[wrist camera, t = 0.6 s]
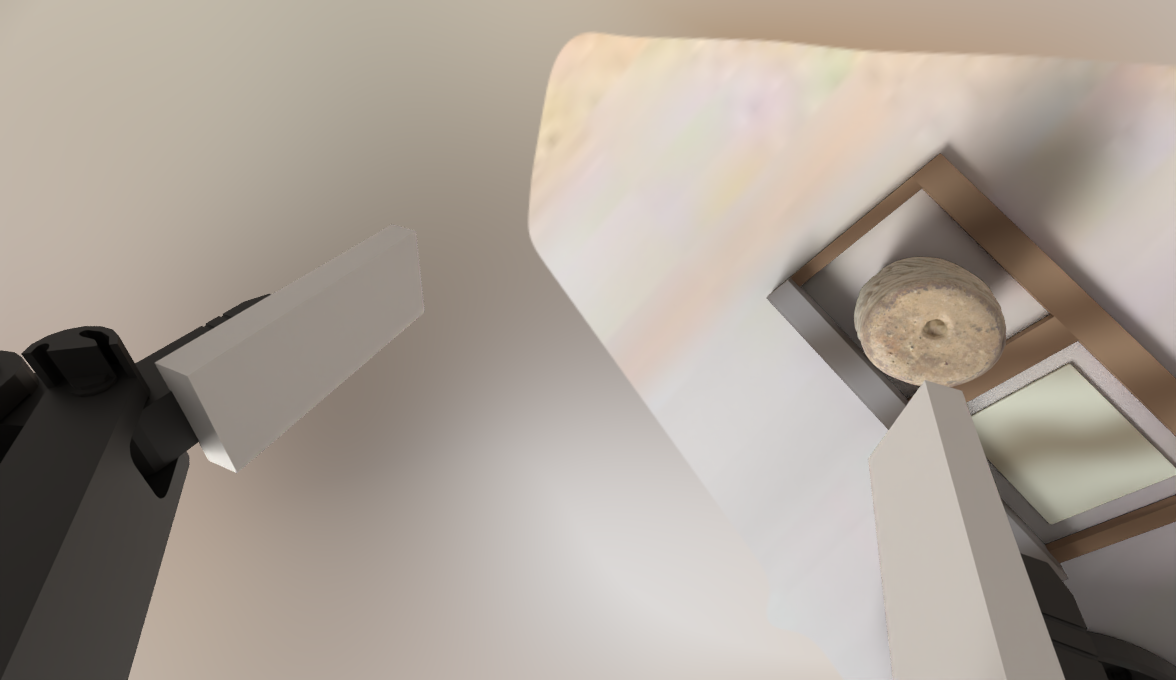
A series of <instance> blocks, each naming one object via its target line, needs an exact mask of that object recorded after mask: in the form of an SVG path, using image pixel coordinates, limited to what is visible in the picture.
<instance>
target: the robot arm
mask: <svg viewBox="0 0 1176 680" xmlns="http://www.w3.org/2000/svg"><path fill="white" fill-rule="evenodd" d="M424 312H425V311H424V301H423V292H422V283H421V273H420V263H419V254H418V245H417V235H416V231H415V230H411V229H408V228H405V227H401V226H398V225H395V224H391V225H390V226H388V227H386V228H384V229H383V230H381V231H379V232H378V233H376V234H374V235H372V236H371V237H369V238H367V239H366V240H364V241H362V242H360V243H359V244H357V245H355V246H354V247H352V248H350V249H349V250H347V251H345V252H343V253H342V254H340V255H338V256H336V257H335V258H333V259H331V260H330V261H328V262H326V263H324V264H323V265H321V266H319V267H318V268H316V269H314V270H313V271H311V272H309V273H307V274H306V275H304V276H302V277H301V278H299V279H297V280H295V281H294V282H292V283H290V284H289V285H287V286H285V287H284V288H282V289H280V290H278V291H277V292H275V293H273V294H267V295H264V296H261V297H258V298H254V299H251V300H248V301H245V302H243V303H241V304H239V305H238V306H236V307H234V308H232V309H231V310H229V311H227V312H225V313H224V314H223V316H222V317H220V316H218V317H217V318H215V319H213V320H211V321H209V322H208V323H206V326H205V327H203V326H201V327H199V328H197V329H195V330H194V331H192V332H190V333H188V334H187V335H185V336H183V337H181V338H180V339H178V340H176V341H174V342H172V343H171V344H169V345H167V346H165V347H164V348H162V349H160V350H158V351H157V352H155V353H153V354H151V355H150V356H148V357H146V358H144V359H143V360H141V361H139V362H137V363H134V361H133V360H132V358H131V356H130V355H129V353H128V351H127V349H126V348H125V346H124V344H123V342H122V341H121V339H120V337H119V336H118V335H117V334H116V333H115V332H114V331H113V330H112V329H109V328H105V327H101V326H84V327H78V328H72V329H67V330H63V331H60V332H57V333H54V334H51V335H49V336H47V337H44V338H43V339H41V340H39V341H37V342H35V343H33V344H31V345H30V346H29V347H28V348H27V349H26V350H25V351H24V352H23V353H22V355H23V357H24V358H25V359H26V361H27V362H28V363H29V365H30V366H31V367H32V369H33V370H34V371H35V373H33V371H32V370H31V369H30V367H29V366H28V365H27V364H26V362H25V361H24V360H23V358H22V357H20V356H19V355H17V354H16V353H15V352H8V351H0V680H128V677H129V673H130V670H131V667H132V663H133V659H134V656H135V653H136V649H137V645H138V642H139V638H140V635H141V631H142V628H143V624H144V621H145V617H146V614H147V611H148V607H149V604H150V600H151V597H152V593H153V590H154V586H155V583H156V579H157V576H158V572H159V569H160V565H161V562H162V558H163V555H164V551H165V547H166V544H167V541H168V537H169V534H170V530H171V527H172V523H173V520H174V517H175V513H176V509H177V506H178V503H179V499H180V495H181V492H182V488H183V484H184V481H185V478H186V474H187V471H188V468H189V455H188V453H187V452H186V451H187V450H188V449H190V448H191V447H192V446H194V445H195V444H196V443H198V442H199V443H200V446H201V447H202V449H203V451H204V453H205V455H206V456H207V458H208V460H209V461H211V462H213V463H216V464H218V465H220V466H222V467H225V468H227V469H229V470H231V471H233V472H236V473H238V472H239V471H240V470H241V469H243V468H244V467H245V466H246V465H247V464H248V463H250V462H251V461H252V460H253V459H254V458H255V457H256V456H258V455H259V454H260V453H261V452H262V451H264V450H265V449H266V448H267V447H268V446H269V445H271V444H272V443H273V442H274V441H275V440H276V439H277V438H279V437H280V436H281V435H282V434H283V433H284V432H286V431H287V430H288V429H289V428H290V427H291V426H293V425H294V424H295V423H296V422H297V421H298V420H299V419H301V418H302V417H303V416H304V415H305V414H307V413H308V412H309V411H310V410H311V409H312V408H314V407H315V406H316V405H317V404H318V403H319V402H320V401H322V400H323V399H324V398H325V397H326V396H328V395H329V394H330V393H331V392H332V391H333V390H335V389H336V388H337V387H338V386H339V385H340V384H341V383H343V382H344V381H345V380H346V379H347V378H349V376H351V375H352V374H353V373H354V372H356V371H357V370H358V369H359V368H360V367H361V366H363V365H364V364H365V363H366V362H367V361H368V360H369V359H371V358H372V357H373V356H374V355H375V354H376V353H378V352H379V351H380V350H381V349H382V348H383V347H384V346H386V345H387V344H388V343H389V342H390V341H392V340H393V339H394V338H395V337H396V336H397V335H399V334H400V333H401V332H402V331H403V330H404V329H406V328H407V327H408V326H409V325H410V324H411V323H413V322H414V321H415V320H416V319H417V318H418V317H420V316H421V315H422V314H423V313H424ZM868 462H869V470H870V479H871V488H872V497H873V506H874V515H875V524H876V533H877V542H878V551H879V560H880V569H881V578H882V587H883V596H884V605H885V614H886V623H887V632H888V641H889V650H890V659H891V668H892V677H893V680H1176V667H1175V666H1173V665H1172V664H1170V663H1169V662H1167V661H1165V660H1164V659H1162V658H1160V657H1158V656H1156V655H1154V654H1152V653H1150V652H1148V651H1146V650H1144V649H1142V648H1139V647H1137V646H1135V645H1132V644H1130V643H1127V642H1124V641H1121V640H1118V639H1115V638H1112V637H1108V636H1105V635H1101V634H1096V633H1092V632H1087V631H1086V629H1087V627H1086V625H1085V623H1084V620H1083V618H1082V615H1081V613H1080V611H1079V608H1078V606H1077V604H1076V601H1075V599H1074V596H1073V595H1072V593H1071V592H1070V591H1069V589H1068V588H1067V587H1066V586H1065V584H1064V583H1063V582H1062V580H1061V579H1060V578H1059V576H1058V575H1057V574H1056V573H1055V571H1054V570H1053V569H1052V567H1051V566H1050V565H1049V563H1047V562H1045V561H1042V560H1039V559H1036V558H1033V557H1030V556H1027V555H1024V554H1021V553H1020V552H1019V549H1018V546H1017V543H1016V540H1015V537H1014V535H1013V532H1012V529H1011V526H1010V523H1009V521H1008V518H1007V515H1006V512H1005V509H1004V507H1003V504H1002V501H1001V498H1000V495H999V493H998V490H997V487H996V484H995V481H994V479H993V476H992V473H991V470H990V467H989V465H988V462H987V459H986V456H985V453H984V451H983V448H982V445H981V442H980V439H979V437H978V434H977V431H976V428H975V425H974V423H973V420H972V417H971V414H970V411H969V409H968V406H967V403H966V400H965V397H964V395H963V392H962V391H961V390H957V389H954V388H950V387H947V386H944V385H940V384H937V383H933V382H930V381H927V380H924V382H923V383H922V385H921V386H920V387H919V389H918V390H917V392H916V393H915V394H914V396H913V397H912V398H911V400H910V401H909V403H908V404H907V405H906V407H905V408H904V410H903V411H902V412H901V414H900V415H899V417H898V418H897V419H896V421H895V422H894V424H893V425H892V426H891V428H890V429H889V430H888V432H887V433H886V435H885V436H884V437H883V439H882V440H881V442H880V443H879V444H878V446H877V447H876V449H875V450H874V451H873V453H872V454H871V456H870V457H869V458H868Z"/></svg>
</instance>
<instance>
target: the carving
mask: <svg viewBox="0 0 1176 680" xmlns="http://www.w3.org/2000/svg"><path fill="white" fill-rule="evenodd" d="M854 324H855V329H856V331H857V335H858V338H859V340H860V341H861V345H862V347H863V349H864V352H865V354H866V355H867V357H868V358H869V360H870V361H871V362H872V363H873V364H874V365H875V366H876V367H877V368H879V369H880V370H881V371H883V372H884V373H886V374H888V375H889V376H892V377H894V378H896V379H899V380H901V381H904V382H907V383H910V384H914V385H918V386H921V385H922V383H923V382H924V380H927V381H930V382H933V383H937V384H940V385H944V386H947V387H953V386H957V385H960V384H963V383H966V382H968V381H971V380H973V379H975V378H977V377H979V376H981V375H983V374H984V373H985V372H987V371H988V370H989V369H991V368H992V367H993V366H994V365H995V363H996V362H997V361H998V360H999V358H1000V357H1001V355H1002V352H1003V350H1004V347H1005V345H1006V326H1005V320H1004V316H1003V314H1002V311H1001V307H1000V305H999V303H998V302H997V300H996V298H995V297H994V296H993V293H992V292H991V290H990V289H989V287H988V286H987V285H986V284H985V283H984V282H983V281H981V280H980V279H979V278H978V277H977V276H975V275H974V274H972V273H970V272H969V271H967V270H965V269H964V268H962V267H960V266H958V265H956V264H954V263H951V262H949V261H946V260H943V259H940V258H933V257H911V258H906V259H902V260H898V261H895V262H893V263H892V264H890V265H888V266H886V267H884V268H883V269H882V270H881V271H879V273H878V274H877V275H875V276H873V277H872V278H871V279H870V280H869V281H868V282H867V283H866V284H865V285H864V286H863V287H862V289H861V290H860V293H859V297H858V299H857V302H856V306H855V311H854Z"/></svg>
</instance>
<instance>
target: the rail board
mask: <svg viewBox="0 0 1176 680" xmlns="http://www.w3.org/2000/svg"><path fill="white" fill-rule="evenodd" d="M920 189H923V190H924V191H925V192H926V193H927V194H928V195H929V196H930V197H931V198H932V199H933V200H934V201H935V202H936V203H937V204H938V205H939V206H940V207H941V208H942V209H943V210H944V211H945V212H947V213H948V214H949V215H950V216H951V217H952V218H953V219H954V220H955V221H956V222H957V223H958V224H959V225H960V226H961V227H962V228H963V229H964V230H965V231H966V232H967V233H968V234H969V235H970V236H971V237H972V238H973V239H974V240H975V241H976V242H977V243H978V244H979V245H980V246H981V247H982V248H983V249H984V250H985V251H986V252H987V253H988V254H990V255H991V256H992V257H993V258H994V259H995V260H996V261H997V262H998V263H999V264H1000V265H1001V266H1002V267H1003V268H1004V269H1005V270H1006V271H1007V272H1008V273H1009V274H1010V275H1011V276H1012V277H1013V278H1014V279H1015V280H1016V281H1017V282H1018V283H1019V284H1020V285H1021V286H1022V287H1023V288H1024V289H1025V290H1026V291H1027V292H1028V293H1029V294H1030V295H1031V296H1033V297H1034V298H1035V299H1036V300H1037V301H1038V302H1039V303H1040V304H1041V305H1042V306H1043V307H1044V308H1045V309H1046V310H1047V311H1048V312H1049V313H1050V315H1048V316H1047V317H1045V318H1043V319H1041V320H1040V321H1038V322H1036V323H1035V324H1033V325H1031V326H1030V327H1028V328H1026V329H1025V330H1023V331H1021V332H1020V333H1018V334H1016V335H1015V336H1013V337H1011V338H1009V339H1008V340H1006V345H1005V347H1004V350H1003V352H1002V355H1001V357H1000V358H999V360H998V361H997V362H996V363H995V365H994V366H993V367H992V368H991V369H989V370H988V371H987V372H985V373H984V374H983V375H981V376H979V377H977V378H975V379H973V380H971V381H968V382H966V383H963V384H960V385H957V386H953V387H950V388H954V389H957V390H961V391H962V392H963V395H964V397H965V400H966V403H967V402H968V401H970V400H972V399H974V398H976V397H977V396H979V395H981V394H983V393H985V392H986V391H988V390H990V389H992V388H994V387H995V386H997V385H999V384H1001V383H1003V382H1005V381H1006V380H1008V379H1010V378H1012V377H1014V376H1015V375H1017V374H1019V373H1021V372H1023V371H1024V370H1026V369H1028V368H1030V367H1032V366H1033V365H1035V364H1037V363H1039V362H1041V361H1042V360H1044V359H1046V358H1048V357H1050V356H1051V355H1053V354H1055V353H1057V352H1059V351H1060V350H1062V349H1064V348H1066V347H1068V346H1069V345H1071V344H1073V343H1075V342H1077V341H1079V342H1080V343H1081V344H1082V345H1083V346H1084V347H1085V348H1086V349H1087V350H1088V351H1089V352H1090V353H1091V354H1092V355H1093V356H1094V357H1095V358H1096V359H1097V360H1098V361H1099V362H1100V363H1101V364H1102V365H1103V366H1104V367H1105V368H1106V369H1107V370H1108V371H1109V372H1110V373H1111V374H1112V375H1113V376H1114V377H1115V378H1116V379H1118V380H1119V381H1120V382H1121V383H1122V384H1123V385H1124V386H1125V387H1126V388H1127V389H1128V390H1129V391H1130V392H1131V393H1132V394H1133V395H1134V396H1135V397H1136V398H1137V399H1138V400H1139V401H1140V402H1141V403H1142V404H1143V405H1144V406H1145V407H1146V408H1147V409H1148V410H1149V411H1150V412H1151V413H1152V414H1153V415H1154V416H1155V417H1156V418H1157V419H1158V420H1159V421H1161V422H1162V423H1163V424H1164V425H1165V426H1166V427H1167V428H1168V429H1169V430H1170V431H1171V432H1172V433H1173V434H1174V435H1175V436H1176V378H1175V377H1174V376H1173V375H1172V374H1171V373H1170V372H1169V371H1167V370H1166V369H1165V368H1164V367H1163V366H1162V365H1161V364H1160V363H1159V362H1158V361H1157V360H1156V359H1155V358H1154V357H1153V356H1152V355H1151V354H1150V353H1149V352H1148V351H1147V350H1146V349H1144V348H1143V347H1142V346H1141V345H1140V344H1139V343H1138V342H1137V341H1136V340H1135V339H1134V338H1133V337H1132V336H1131V335H1130V334H1129V333H1128V332H1127V331H1126V330H1125V329H1124V328H1123V327H1121V326H1120V325H1119V324H1118V323H1117V322H1116V321H1115V320H1114V319H1113V318H1112V317H1111V316H1110V315H1109V314H1108V313H1107V312H1106V311H1105V310H1104V309H1103V308H1102V307H1101V306H1100V305H1098V304H1097V303H1096V302H1095V301H1094V300H1093V299H1092V298H1091V297H1090V296H1089V295H1088V294H1087V293H1086V292H1085V291H1084V290H1083V289H1082V288H1081V287H1080V286H1079V285H1078V284H1077V283H1076V282H1074V281H1073V280H1072V279H1071V278H1070V277H1069V276H1068V275H1067V274H1066V273H1065V272H1064V271H1063V270H1062V269H1061V268H1060V267H1059V266H1058V265H1057V264H1056V263H1055V262H1054V261H1053V260H1051V259H1050V258H1049V257H1048V256H1047V255H1046V254H1045V253H1044V252H1043V251H1042V250H1041V249H1040V248H1039V247H1038V246H1037V245H1036V244H1035V243H1034V242H1033V241H1032V240H1031V239H1030V238H1028V237H1027V236H1026V235H1025V234H1024V233H1023V232H1022V231H1021V230H1020V229H1019V228H1018V227H1017V226H1016V225H1015V224H1014V223H1013V222H1012V221H1011V220H1010V219H1009V218H1008V217H1007V216H1005V215H1004V214H1003V213H1002V212H1001V211H1000V210H999V209H998V208H997V207H996V206H995V205H994V204H993V203H992V202H991V201H990V200H989V199H988V198H987V197H986V196H985V195H984V194H982V193H981V192H980V191H979V190H978V189H977V188H976V187H975V186H974V185H973V184H972V183H971V182H970V181H969V180H968V179H967V178H966V177H965V176H964V175H963V174H962V173H961V172H960V171H958V170H957V169H956V168H955V167H954V166H953V165H952V164H951V163H950V162H949V161H948V160H947V159H946V158H945V157H944V156H943V155H942V154H941V153H940V154H939V155H937V156H936V157H935V158H934V159H933V160H931V161H930V162H929V163H928V164H927V165H925V166H924V167H923V168H922V169H920V170H919V171H918V172H917V173H916V174H914V175H913V176H912V177H911V178H910V179H908V180H907V181H906V182H905V183H904V184H902V185H901V186H900V187H899V188H897V189H896V190H895V191H894V192H893V193H891V194H890V195H889V196H888V197H887V198H885V199H884V200H883V201H882V202H881V203H879V204H878V205H877V206H876V207H874V208H873V209H872V210H871V211H870V212H868V213H867V214H866V215H865V216H864V217H862V218H861V219H860V220H859V221H858V222H856V223H855V224H854V225H853V226H851V227H850V228H849V229H848V230H847V231H845V232H844V233H843V234H842V235H841V236H839V237H838V238H837V239H836V240H835V241H833V242H832V243H831V244H830V245H828V246H827V247H826V248H825V249H824V250H822V251H821V252H820V253H819V254H818V255H816V256H815V257H814V258H813V259H812V260H810V261H809V262H808V263H807V264H805V265H804V266H803V267H802V268H801V269H799V270H798V271H797V272H796V273H795V274H793V275H792V276H791V277H790V278H789V279H787V280H786V281H785V282H784V283H782V284H781V285H780V286H779V287H778V288H776V289H775V290H774V291H773V292H772V293H771V294H770V295H769V296H768V297H767V299H768V300H769V301H770V302H771V304H772V305H773V306H774V307H775V308H776V309H777V310H778V311H779V312H780V313H781V314H782V315H783V316H784V318H785V319H786V320H787V321H788V322H789V323H790V324H791V325H792V326H793V327H794V328H795V329H796V331H797V332H798V333H799V334H800V335H801V336H802V337H803V338H804V339H805V340H806V341H807V342H808V343H809V345H810V346H811V347H812V348H813V349H814V350H815V351H816V352H817V353H818V354H819V355H820V356H821V357H822V359H823V360H824V361H825V362H826V363H827V364H828V365H829V366H830V367H831V368H832V369H833V370H834V372H835V373H836V374H837V375H838V376H839V377H840V378H841V379H842V380H843V381H844V382H845V383H846V384H847V386H848V387H849V388H850V389H851V390H852V391H853V392H854V393H855V394H856V395H857V396H858V397H859V399H860V400H861V401H862V402H863V403H864V404H865V405H866V406H867V407H868V408H869V409H870V410H871V411H872V413H873V414H874V415H875V416H876V417H877V418H878V419H879V420H880V421H881V422H882V423H883V424H884V425H885V427H886V428H887V429H888V430H889V429H890V428H891V426H892V425H893V424H894V422H895V421H896V419H897V418H898V417H899V415H900V414H901V412H902V411H903V410H904V408H905V407H906V405H907V404H908V403H909V401H910V400H911V398H912V397H913V396H914V395H913V396H912V397H910V398H908V399H907V398H906V397H905V396H904V395H903V394H902V393H901V392H900V391H899V389H898V388H897V387H896V386H895V385H894V384H893V383H892V382H891V381H890V380H889V379H888V378H887V377H886V376H885V375H884V374H883V373H882V371H881V370H880V369H879V368H877V367H876V366H875V365H874V364H873V363H872V362H871V361H870V360H869V358H868V357H867V356H866V355H865V353H864V352H863V351H862V350H861V349H860V348H859V347H858V346H857V345H856V344H855V343H854V342H853V341H852V340H851V339H850V338H849V336H848V335H847V334H846V333H845V332H844V331H843V330H842V329H841V328H840V327H839V326H838V325H837V324H836V323H835V322H834V321H833V320H832V318H831V317H830V316H829V315H828V314H827V313H826V312H825V311H824V310H823V309H822V308H821V307H820V306H819V305H818V304H817V303H816V302H815V300H814V299H813V298H812V297H811V296H810V295H809V294H808V293H807V292H806V291H805V290H804V289H803V288H802V287H801V285H802V284H804V283H805V282H806V281H807V280H809V279H810V278H811V277H812V276H814V275H815V274H816V273H817V272H819V271H820V270H821V269H822V268H824V267H825V266H826V265H827V264H829V263H830V262H831V261H832V260H834V259H835V258H836V257H837V256H838V255H840V254H841V253H842V252H843V251H845V250H846V249H847V248H848V247H850V246H851V245H852V244H853V243H855V242H856V241H857V240H858V239H860V238H861V237H862V236H863V235H865V234H866V233H867V232H868V231H870V230H871V229H872V228H873V227H875V226H876V225H877V224H878V223H879V222H881V221H882V220H883V219H884V218H886V217H887V216H888V215H889V214H891V213H892V212H893V211H894V210H896V209H897V208H898V207H899V206H901V205H902V204H903V203H904V202H906V201H907V200H908V199H909V198H911V197H912V196H913V195H914V194H915V193H917V192H918V191H919V190H920ZM971 417H972V420H973V423H974V425H975V428H976V431H977V434H978V437H979V439H980V442H981V445H982V448H983V451H984V453H985V456H986V458H987V459H988V460H989V461H990V462H991V463H992V464H993V465H994V466H995V467H996V468H997V469H998V470H999V471H1000V472H1001V474H1002V475H1003V476H1004V477H1005V478H1006V479H1007V480H1008V481H1009V482H1010V483H1011V484H1012V485H1013V486H1014V487H1015V488H1016V489H1017V490H1018V491H1019V492H1020V493H1021V495H1022V496H1023V497H1024V498H1025V499H1026V500H1027V501H1028V502H1029V503H1030V504H1031V505H1032V506H1033V507H1034V508H1035V509H1036V510H1037V511H1038V512H1039V513H1040V514H1041V516H1042V517H1043V518H1044V519H1045V520H1046V521H1047V522H1048V523H1049V524H1050V525H1052V524H1055V523H1057V522H1060V521H1062V520H1065V519H1067V518H1070V517H1072V516H1075V515H1077V514H1080V513H1082V512H1085V511H1087V510H1090V509H1092V508H1095V507H1097V506H1100V505H1102V504H1105V503H1107V502H1110V501H1112V500H1115V499H1117V498H1120V497H1122V496H1125V495H1127V494H1130V493H1133V492H1135V491H1138V490H1140V489H1143V488H1145V487H1148V486H1150V485H1153V484H1155V483H1158V482H1160V481H1163V480H1165V479H1168V478H1170V477H1173V476H1175V475H1176V468H1175V467H1174V466H1173V465H1172V464H1171V463H1170V462H1169V461H1168V460H1167V459H1166V458H1165V457H1164V456H1163V455H1162V454H1161V453H1160V452H1159V451H1158V450H1157V449H1156V448H1155V447H1154V446H1153V445H1152V444H1151V443H1150V442H1149V441H1148V440H1147V439H1146V438H1145V437H1144V436H1143V435H1142V434H1141V433H1140V432H1139V431H1138V430H1137V429H1136V428H1135V427H1134V426H1133V425H1131V424H1130V423H1129V422H1128V421H1127V420H1126V419H1125V418H1124V417H1123V416H1122V415H1121V414H1120V413H1119V412H1118V411H1117V410H1116V409H1115V408H1114V407H1113V406H1112V405H1111V404H1110V403H1109V402H1108V401H1107V400H1106V399H1105V398H1104V397H1103V396H1102V395H1101V394H1100V393H1099V392H1098V391H1097V390H1096V389H1095V388H1094V387H1093V386H1092V385H1091V384H1090V383H1089V382H1088V381H1087V380H1086V379H1085V378H1084V377H1083V376H1082V375H1081V374H1080V373H1079V372H1078V371H1077V370H1076V369H1075V368H1074V367H1073V366H1072V365H1071V364H1070V363H1068V364H1066V365H1064V366H1062V367H1061V368H1059V369H1057V370H1055V371H1053V372H1051V373H1049V374H1048V375H1046V376H1044V377H1042V378H1040V379H1038V380H1036V381H1035V382H1033V383H1031V384H1029V385H1027V386H1025V387H1023V388H1022V389H1020V390H1018V391H1016V392H1014V393H1012V394H1010V395H1009V396H1007V397H1005V398H1003V399H1001V400H999V401H997V402H996V403H994V404H992V405H990V406H988V407H986V408H984V409H983V410H981V411H979V412H977V413H975V414H973V415H971ZM1001 501H1002V504H1003V507H1004V509H1005V512H1006V515H1007V518H1008V521H1009V523H1010V526H1011V529H1012V532H1013V535H1014V537H1015V540H1016V543H1017V546H1018V549H1019V552H1020V553H1021V554H1024V555H1027V556H1030V557H1033V558H1036V559H1039V560H1042V561H1045V562H1047V563H1049V565H1050V566H1051V567H1052V569H1053V570H1054V571H1055V573H1056V574H1057V575H1058V576H1059V578H1060V579H1061V580H1062V581H1064V580H1066V579H1068V577H1067V575H1066V574H1065V572H1064V570H1063V568H1062V566H1061V565H1060V563H1062V562H1064V561H1067V560H1070V559H1073V558H1075V557H1078V556H1081V555H1084V554H1087V553H1089V552H1092V551H1095V550H1098V549H1100V548H1103V547H1106V546H1109V545H1112V544H1114V543H1117V542H1120V541H1123V540H1125V539H1128V538H1131V537H1134V536H1137V535H1139V534H1142V533H1145V532H1148V531H1150V530H1153V529H1156V528H1159V527H1162V526H1164V525H1167V524H1170V523H1173V522H1176V495H1174V496H1172V497H1169V498H1166V499H1164V500H1161V501H1159V502H1156V503H1153V504H1151V505H1148V506H1145V507H1143V508H1140V509H1138V510H1135V511H1132V512H1130V513H1127V514H1125V515H1122V516H1119V517H1117V518H1114V519H1111V520H1109V521H1106V522H1104V523H1101V524H1098V525H1096V526H1093V527H1090V528H1088V529H1085V530H1083V531H1080V532H1077V533H1075V534H1072V535H1069V536H1067V537H1064V538H1062V539H1059V540H1056V541H1054V542H1051V543H1049V544H1046V545H1045V544H1044V543H1043V542H1042V541H1041V540H1040V539H1039V538H1038V537H1037V536H1036V535H1035V534H1034V533H1033V532H1032V530H1031V529H1030V528H1029V527H1028V526H1027V525H1026V524H1025V523H1024V522H1023V521H1022V520H1021V519H1020V518H1019V517H1018V516H1017V515H1016V514H1015V512H1014V511H1013V510H1012V509H1011V508H1010V507H1009V506H1008V505H1007V504H1006V503H1005V502H1004V501H1003V500H1002V499H1001Z"/></svg>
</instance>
